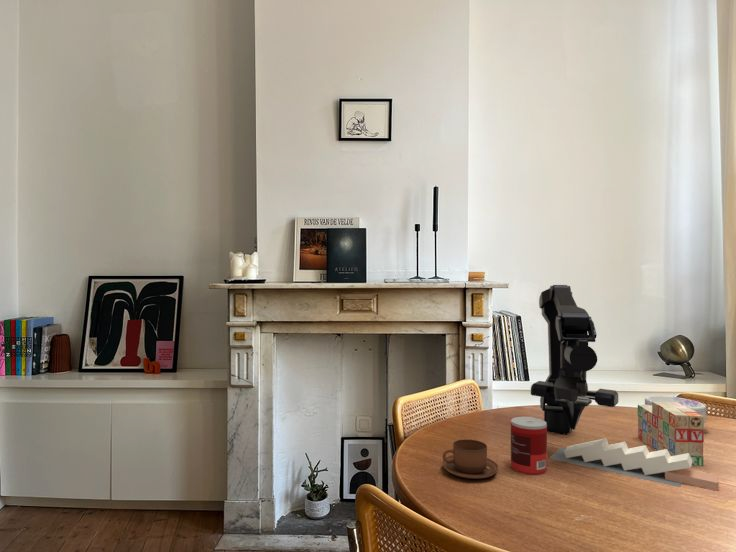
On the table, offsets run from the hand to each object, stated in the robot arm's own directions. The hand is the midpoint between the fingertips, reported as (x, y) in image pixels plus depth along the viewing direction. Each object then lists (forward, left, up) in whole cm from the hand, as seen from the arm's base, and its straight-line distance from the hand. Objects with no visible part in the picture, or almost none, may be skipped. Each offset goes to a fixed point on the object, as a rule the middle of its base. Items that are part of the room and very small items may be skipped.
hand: (573, 429), depth 116 cm
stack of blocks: (+18, +20, -7) cm, 27 cm away
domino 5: (+15, 0, -6) cm, 16 cm away
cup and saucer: (-16, -23, -7) cm, 29 cm away
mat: (+9, 0, -7) cm, 11 cm away
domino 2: (+3, 0, -6) cm, 6 cm away
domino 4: (+11, 0, -6) cm, 12 cm away
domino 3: (+7, 0, -6) cm, 9 cm away
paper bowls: (+17, +45, -7) cm, 49 cm away
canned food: (-6, -14, -7) cm, 17 cm away
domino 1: (-1, 0, -6) cm, 6 cm away
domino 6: (+19, 0, -6) cm, 20 cm away
